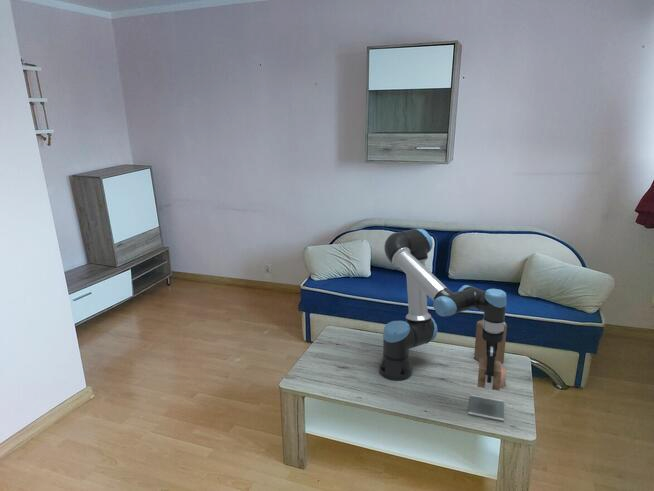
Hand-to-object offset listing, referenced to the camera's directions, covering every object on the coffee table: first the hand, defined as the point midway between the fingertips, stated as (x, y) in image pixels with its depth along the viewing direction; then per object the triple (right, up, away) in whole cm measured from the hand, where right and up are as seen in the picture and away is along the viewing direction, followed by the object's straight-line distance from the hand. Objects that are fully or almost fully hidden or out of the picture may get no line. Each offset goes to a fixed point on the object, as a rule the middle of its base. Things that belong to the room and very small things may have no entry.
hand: (488, 382), depth 171 cm
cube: (0, 0, 0) cm, 0 cm away
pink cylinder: (+11, -7, +20) cm, 24 cm away
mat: (0, -11, +3) cm, 12 cm away
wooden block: (+14, -2, +38) cm, 41 cm away
